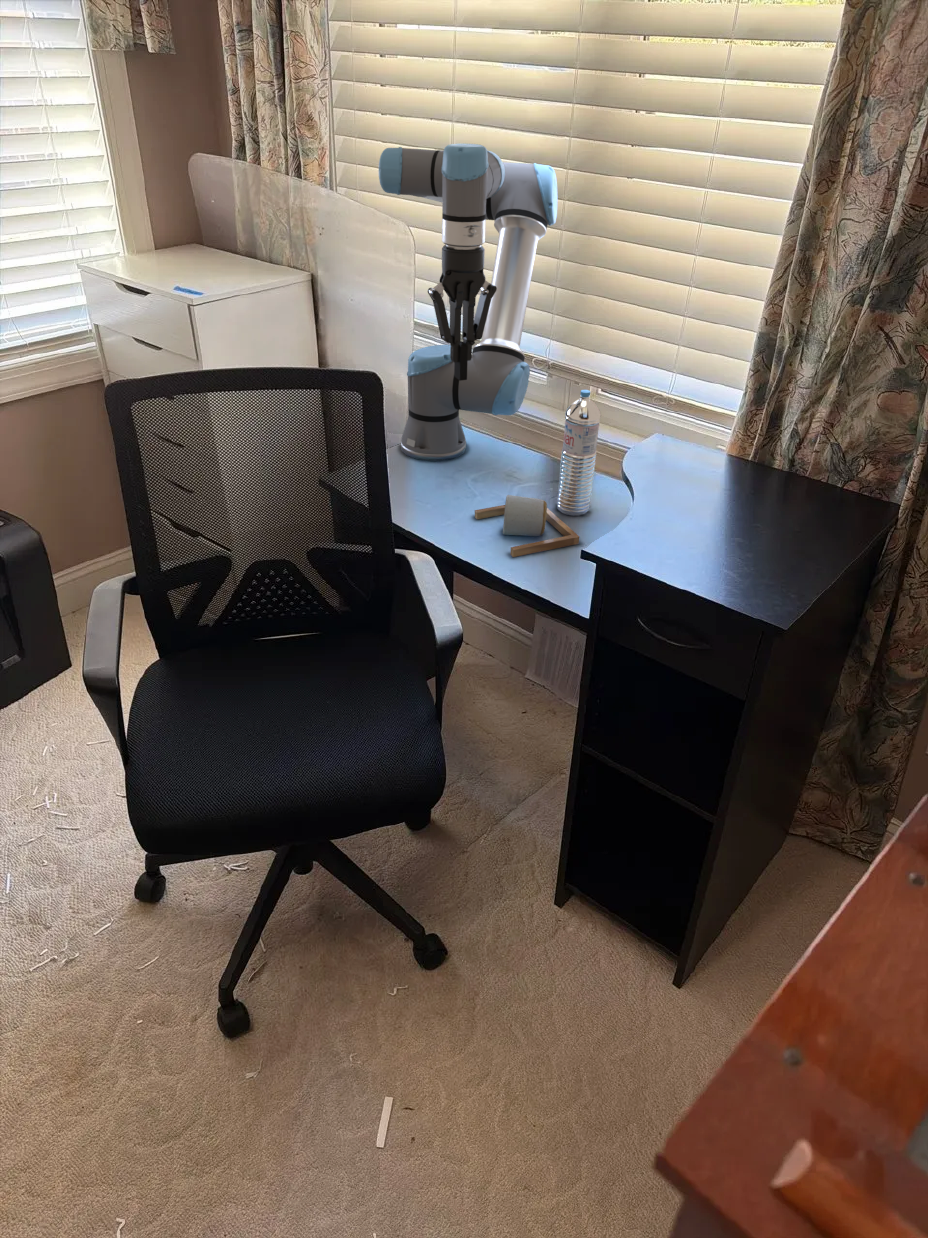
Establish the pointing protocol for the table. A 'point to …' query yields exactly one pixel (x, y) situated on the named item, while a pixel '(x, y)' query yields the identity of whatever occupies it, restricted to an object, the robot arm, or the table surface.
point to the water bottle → (578, 456)
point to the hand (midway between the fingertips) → (460, 377)
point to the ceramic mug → (524, 516)
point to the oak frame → (530, 548)
